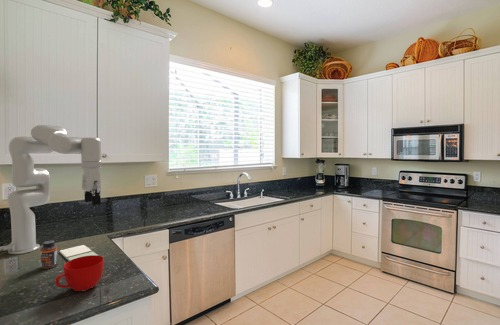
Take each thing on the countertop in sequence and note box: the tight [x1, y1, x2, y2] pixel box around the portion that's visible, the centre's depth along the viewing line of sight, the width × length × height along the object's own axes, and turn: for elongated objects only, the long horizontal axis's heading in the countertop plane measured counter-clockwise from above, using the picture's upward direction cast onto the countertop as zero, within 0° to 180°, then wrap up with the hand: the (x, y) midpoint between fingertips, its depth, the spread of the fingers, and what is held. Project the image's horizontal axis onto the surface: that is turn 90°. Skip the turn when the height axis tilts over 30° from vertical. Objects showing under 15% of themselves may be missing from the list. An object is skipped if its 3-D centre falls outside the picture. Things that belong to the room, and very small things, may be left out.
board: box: [59, 244, 100, 262], centre depth 130 cm, size 11×27×1 cm, turn 48°
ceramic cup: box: [54, 254, 105, 292], centre depth 99 cm, size 13×17×10 cm
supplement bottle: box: [40, 240, 58, 270], centre depth 119 cm, size 6×6×11 cm
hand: (92, 203), depth 119 cm, fingers open, 9 cm apart
